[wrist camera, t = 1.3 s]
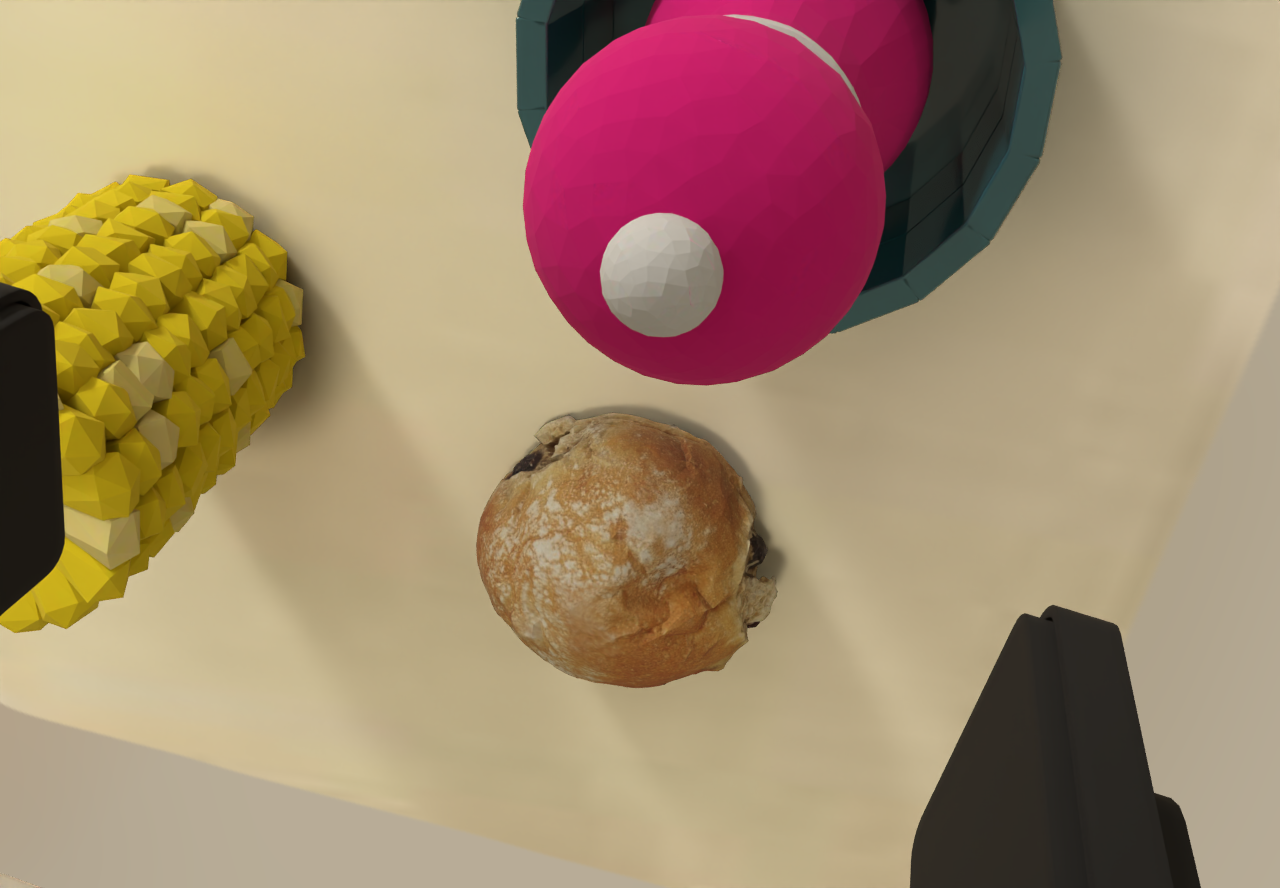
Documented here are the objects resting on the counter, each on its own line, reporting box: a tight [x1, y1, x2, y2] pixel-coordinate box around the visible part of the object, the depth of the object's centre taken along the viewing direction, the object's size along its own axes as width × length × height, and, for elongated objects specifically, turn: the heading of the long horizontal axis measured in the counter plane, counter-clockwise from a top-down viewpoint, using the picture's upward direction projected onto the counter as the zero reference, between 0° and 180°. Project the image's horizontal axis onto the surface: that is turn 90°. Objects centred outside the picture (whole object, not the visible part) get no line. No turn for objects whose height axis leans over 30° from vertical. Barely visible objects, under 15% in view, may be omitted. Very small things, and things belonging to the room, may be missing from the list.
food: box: [0, 175, 305, 633], centre depth 36 cm, size 15×12×10 cm
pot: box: [516, 0, 1062, 333], centre depth 31 cm, size 13×13×7 cm
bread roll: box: [476, 413, 777, 688], centre depth 41 cm, size 10×10×8 cm
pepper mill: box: [523, 0, 933, 385], centre depth 25 cm, size 7×7×20 cm
